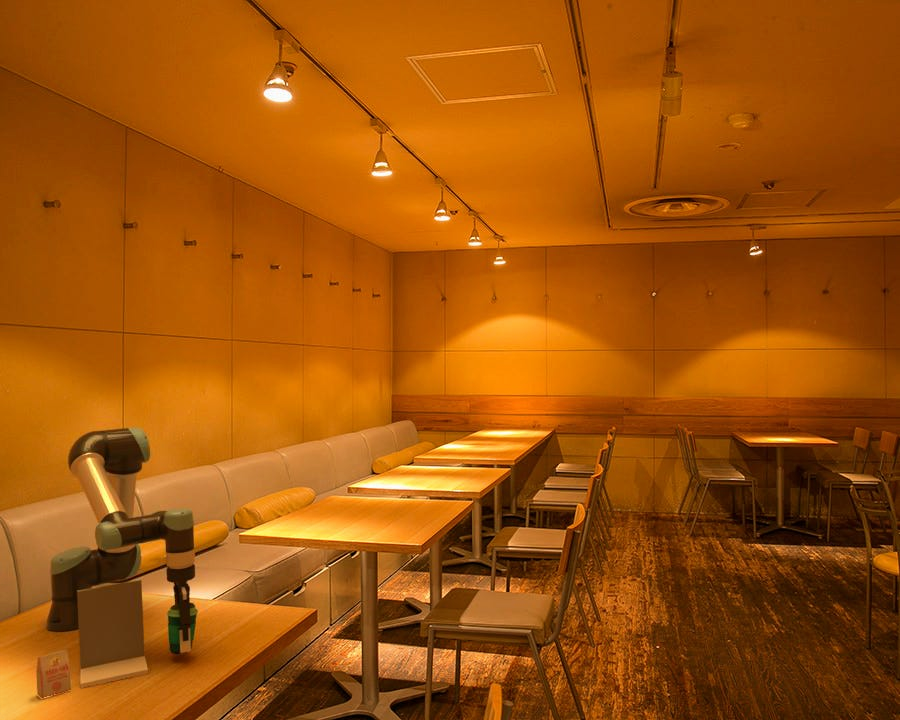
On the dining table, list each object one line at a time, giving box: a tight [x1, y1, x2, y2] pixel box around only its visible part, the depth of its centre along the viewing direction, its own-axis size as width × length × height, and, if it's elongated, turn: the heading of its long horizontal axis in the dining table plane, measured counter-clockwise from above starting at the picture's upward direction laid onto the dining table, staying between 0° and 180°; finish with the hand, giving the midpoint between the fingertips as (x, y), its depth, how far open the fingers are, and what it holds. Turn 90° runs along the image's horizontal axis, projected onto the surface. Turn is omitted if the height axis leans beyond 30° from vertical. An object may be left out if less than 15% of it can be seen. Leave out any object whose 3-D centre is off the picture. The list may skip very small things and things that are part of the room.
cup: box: [166, 602, 199, 655], centre depth 204 cm, size 8×8×12 cm
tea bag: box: [35, 649, 72, 698], centre depth 185 cm, size 4×7×10 cm, turn 134°
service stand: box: [77, 580, 149, 689], centre depth 196 cm, size 12×16×22 cm
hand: (183, 646), depth 204 cm, fingers closed on cup, 7 cm apart
